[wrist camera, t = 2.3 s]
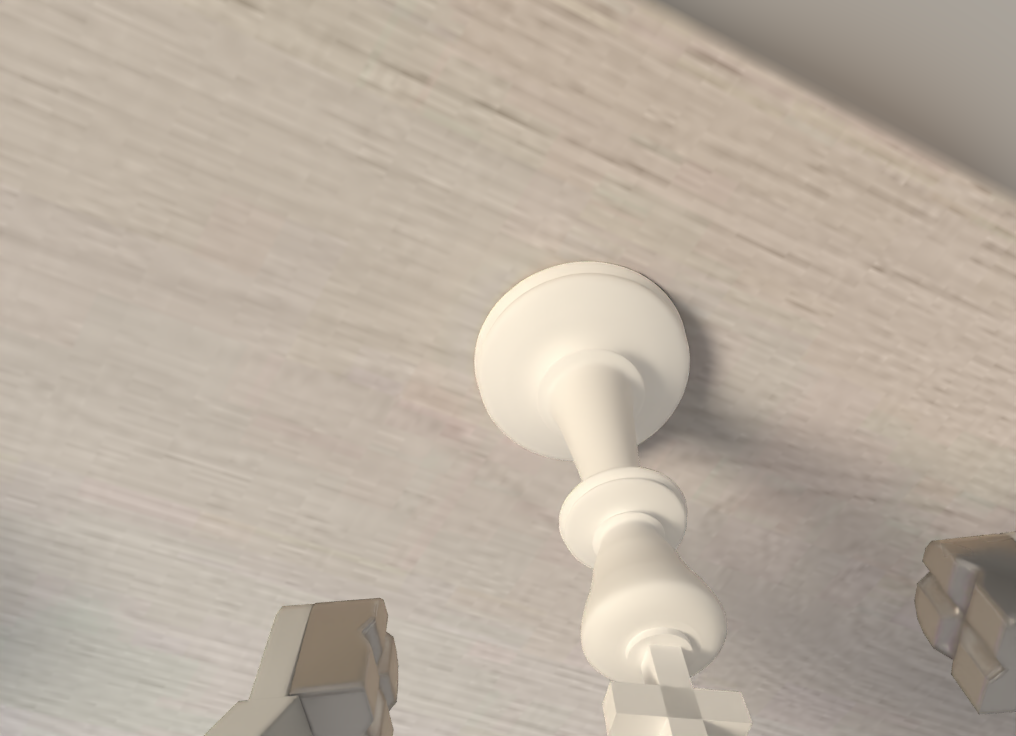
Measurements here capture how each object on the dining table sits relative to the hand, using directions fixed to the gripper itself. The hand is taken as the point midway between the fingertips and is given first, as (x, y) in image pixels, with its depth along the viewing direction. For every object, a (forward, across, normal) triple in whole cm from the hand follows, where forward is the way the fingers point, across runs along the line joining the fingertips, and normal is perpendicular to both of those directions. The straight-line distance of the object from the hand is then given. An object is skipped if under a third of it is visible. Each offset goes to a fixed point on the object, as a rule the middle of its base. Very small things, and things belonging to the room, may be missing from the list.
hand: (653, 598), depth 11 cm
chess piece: (+7, 0, 0) cm, 7 cm away
